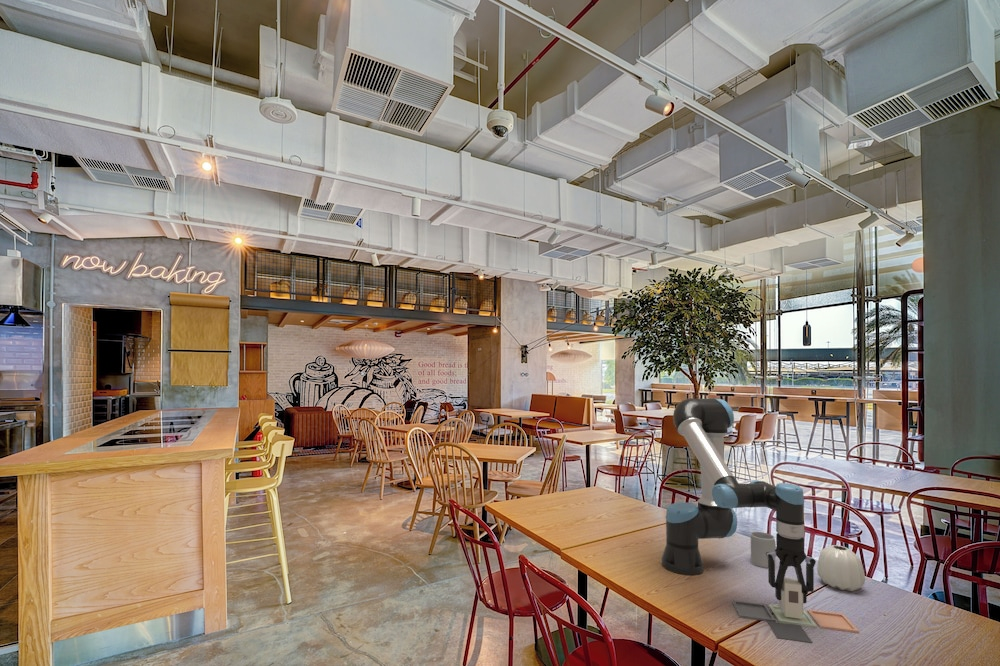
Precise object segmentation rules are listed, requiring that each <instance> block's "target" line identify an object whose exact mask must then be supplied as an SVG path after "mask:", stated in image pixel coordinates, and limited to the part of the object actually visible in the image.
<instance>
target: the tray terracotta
mask: <svg viewBox="0 0 1000 666" xmlns="http://www.w3.org/2000/svg"><path fill="white" fill-rule="evenodd" d="M806 612H807V614H808V615H809V616H810V618H811V619H812V620H813V621H814V623H815V624H816V625H817V626H818V627H819V628H820V629H823V630H832V631H839V632H847V633H854V634H855V633H856V634H860V630H859V629H858V628H857V627H856V626H855V625H854V624H853V623H852V622H851V620H849V619H848V617H847V616H846V615H845V614H844V613H838V612H832V611H822V610H815V609H807V611H806Z"/></svg>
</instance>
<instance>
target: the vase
mask: <svg viewBox="0 0 1000 666" xmlns="http://www.w3.org/2000/svg"><path fill="white" fill-rule="evenodd" d="M817 559H818V560H817V565H816V566H817V568H816V571H817V575H818V577H820V579H821V581H823V582H824V584H826V585H828V586H831V588H834V589H838V590H840V591H848V592H853V591H858V590H860V589H861V588H862V587H863V586H864V585H865V583H866V576H865V570H864V567H863V566H864V565H863V563H862V560H861V558H859V556H858V555H857V554H856V553H855V552H854V551H852V550H851V549H849V548H848V547H846V546H842V545H837V544H836V545H834V544H832V545H828V546H826V547H824V548H822V549H821V551H820V553H819V557H818V558H817Z"/></svg>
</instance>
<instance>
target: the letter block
mask: <svg viewBox="0 0 1000 666" xmlns="http://www.w3.org/2000/svg"><path fill="white" fill-rule="evenodd" d="M782 589H783V590H784V612H785V613H783V614H784V615H785V617H792V618H800V619H802V587H801V584H800V583H799V582H798V579H797V578H793V577H792V578H791V577H786V576H785V577H784V581H783V585H782Z"/></svg>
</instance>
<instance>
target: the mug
mask: <svg viewBox="0 0 1000 666" xmlns="http://www.w3.org/2000/svg"><path fill="white" fill-rule="evenodd" d="M776 547H777V546H776V539H775V536H774V535H772V534H770V533H767V532H761V531H752V532H751V533H750V562H751V564H753V565H754V566H756V567H760V568H764V569H768V558H767V556H766V552H769V553H772V552H775V550H776ZM774 563H775V564H776V559H775V560H774Z"/></svg>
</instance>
